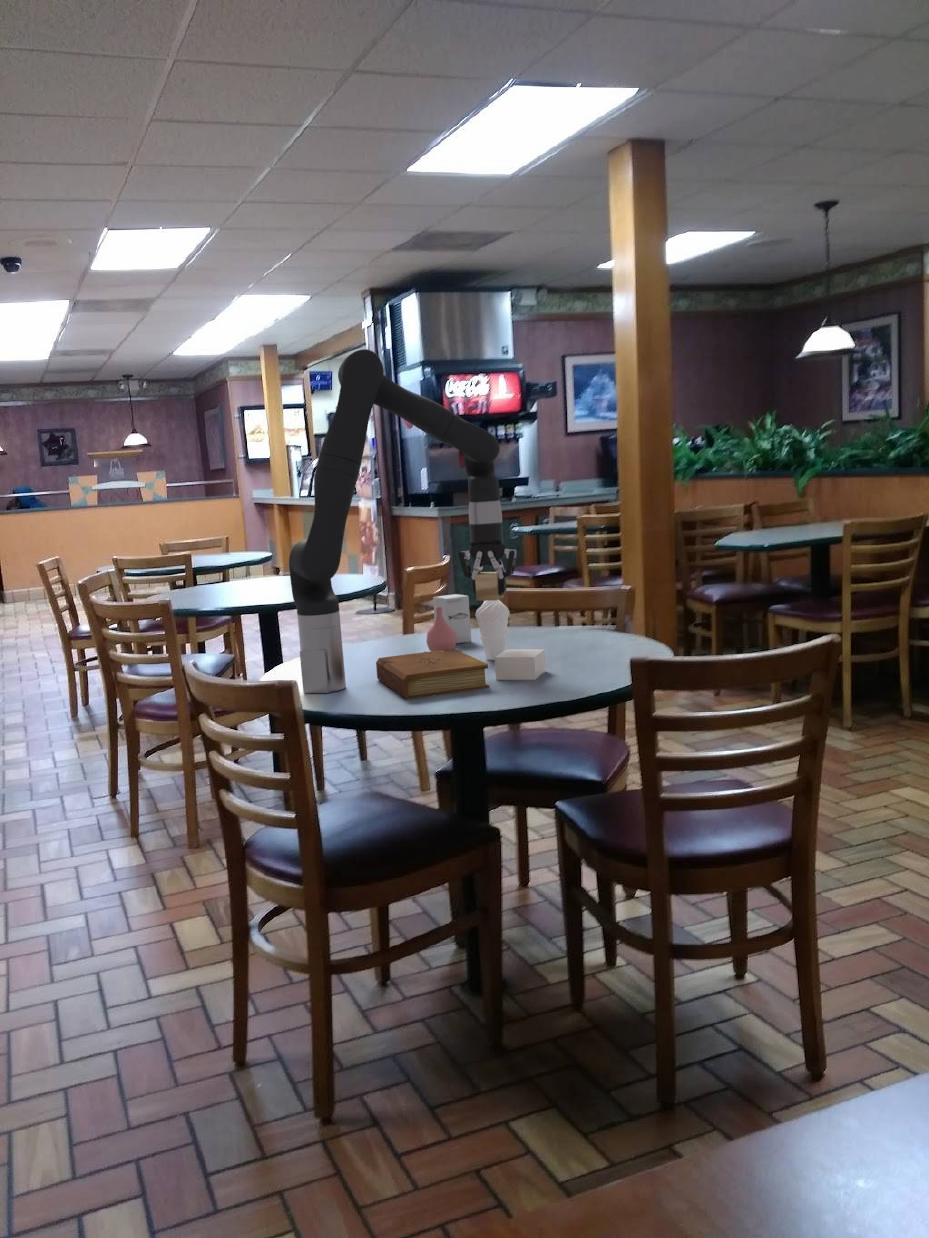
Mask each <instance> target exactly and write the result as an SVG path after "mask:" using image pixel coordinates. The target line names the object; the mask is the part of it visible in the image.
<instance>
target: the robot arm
mask: <svg viewBox="0 0 929 1238" xmlns="http://www.w3.org/2000/svg"><path fill="white" fill-rule="evenodd" d="M383 365H384V364H383V362H382V360H381V359H380V356H379V355H378V354H377V353H376V352H375V351H373V350H371V349H367V348H360V349H357V350H356V349H355V350H354V351H352V352H350V353H349V354H348V355H347V356H346V357H345V358H344V360H343V361H342V363H341V364H340V366H339V368H338V371H337V372H338V373H337V378H338V382H339V385H340V389H339V395H338V401H337V405H336V409H335V412H334V414H333V416H332V419H331V421H330V424H329V426H328V429H327V431H326V434H325V436H324V439H323V442H322V444H321V445H322V446H321V449H320V451H319V456H318V459H317V463H316V465H315V467H316V468H315V471H314V476H313V477H314V480H313V481H314V482H313V496H314V498H313V499H314V514H313V518H312V523H311V526H310V530H309V534H308V536H307V538H306V539H303V540H300V541H298V542H297V543H295V544H294V545H293V547H292V548H291V550H290V553H289V557H288V569H289V578H290V584H291V587H290V588H291V594H292V599H293V602H294V604H295V607H296V615H297V623H298V624H297V627H298V638H299V647H300V651H299V661H300V670H301V681H302V690H303V691H302V692H303V694H330V693H333V692H338V691H340V690H341V691H342V690H343V689H345V688H346V687H347V681H346V671H345V670H346V669H345V661H344V650H343V637H342V627H341V626H342V625H341V623H342V622H341V616H340V615H341V613H340V602H339V599H338V597H337V595H336V593H335V591H334V588H333V586H332V585H333V584H332V578H333V577H335V576H336V574H337V572H338V570H339V567H340V564H341V557H342V551H343V542H344V535H345V529H346V523H347V519H348V516H349V512H350V509H351V505H352V500H353V496H354V494H355V490H356V486H357V482H358V479H359V474H360V469H361V466H362V463H363V456H364V451H365V445H366V440H367V434H368V429H369V427H368V426H369V421H370V417H371V414H372V413H371V412H372V411H373V408H374V407H373V406H374V405H375V406H377V407H380V408H382V409H384V410H385V411H388V412H389V413H391V414H394V415H395V416H397V417H398V418H400V419H402V420H404V421H406V422H408V423H409V424H411V425H412V426H413V427H414V426H415V427H416V428H418V429H419V430H421V431H422V432H424V433H425V434H427V435H428V436H430V437H431V438H433V439H435V440H436V441H439V442H440V443H442V444H444V445H447V446H449V447H452V448H455V449H457V450H458V451H459V452H461V453H463V461H464V466H465V470H466V476H467V481H468V484H467V485H468V487H467V488H468V502H469V505H468V524H469V537H470V538H469V539H470V546H469V549H468V550H463V551H459V552H458V559H459V562H460V566H461V569H462V573H463V576H464V577H465V578H468V579H471V581H472V592H473V593H474V595H476V584H475V575H476V574H478V573H481V572H482V570H483V568H484V567H485V566H489V567H490V566H492V567H493V569H494V571H495V572H497V574H498V577H499V579H498V589H499V595H504V596H505V593H506V592H507V577H510V576H513V575H514V573H515V567H516V562H517V557H518V556H517V555H518V550H517V549H509V548H506V546H505V545H504V544H505V543H504V532H503V531H504V530H503V528H504V527H503V513H502V506H501V501H500V499H501V497H500V484H499V483H500V482H499V479H498V477H497V476H496V473H495V463H494V461H496V459H497V458H498V456H499V454H500V450H501V449H500V443H499V441H498V438H496V437H495V436H494V435H493V434H492V433H490V432H489V431H487V430H486V429H484V428H481V427H480V426H477V425H475V424H474V423H471V422H469V421H467V420H465V419H463V418H461V417H460V416H459V415H458V414H456V413H454V412H453V411H451V410H450V409H448V408H446V407H445V406H443V405H441V404H440V403H438V402H436V401H434V400H433V399H430V398H428V397H426V396H423V395H421V394H419V393H418V394H417V393H416V392H414V391H413V392H412V391H411V390H408V389H406V387H405V388H404V387H402V386H401V385H399V384H398V383H396V382H394V381H393V380H391V379H390V378H389V377H388V376H387V375H385V373H384V370H385V369H384V366H383ZM504 555H505V557H506V559H507V563H506V570H505V568H504V564H503V561H502V558H503V556H504ZM470 556H471V557H472V559H474V564H473V567H472V568H473V569H472V568H471V565H470V564H471V563H470V558H471V557H470Z"/></svg>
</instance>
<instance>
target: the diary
mask: <svg viewBox="0 0 929 1238" xmlns="http://www.w3.org/2000/svg"><path fill="white" fill-rule="evenodd" d="M375 665H376V677H377V678H376V679H377V680H378V681H379V682H381V683H382V684H384V685H385V684H386V685H385V686H387V687H389V688H390V689H391V690H393V691H394V692H396V693H397V694H398V695H400V697H403V699H405V698H406V700H413V699H419V698H420V697H421V698H427V697H428V698H429V697H434V696H433V695H435V696H441V694H442V695H449V694H455V693H460V692H461V693H463V692H469V691H477V690H483V689H489V688H490V685H489V684H487V683H486V682H487V681H486V670H487V669H488V670H489V664H488V663H487V662H484V661H482V660H481V659H477V658H475V657H473V656H471V655H469V654H467V653H465V652H463V651H460V650H458V649H456V648H455V649H454V648H453V649H446V650H438V651H430V650H429V651H424V652H416V653H407V654H400V655H391V656H384V657H379V658H378V659H377V660H376V662H375Z"/></svg>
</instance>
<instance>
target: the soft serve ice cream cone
mask: <svg viewBox="0 0 929 1238" xmlns="http://www.w3.org/2000/svg"><path fill="white" fill-rule="evenodd" d="M475 611H476V612H475V618H476V621H477V624H478V626H479V633H480V639H481V642H482V646H483V650H484V654H485V658H486V660H489V661H495V657H496V656H497V655H499V654H500V653H502V652H503V651H505V650H506V647H507V640H508V639H507V638H508V637H509V635H508V623H509V619H508V618H510V617H509V616H510V610H509V608H508V606H506V604H504V603H503V602H502V601H501V599H499V600H490V601H483V603H482V604H481V605H480V606H479V607H478V608H477V609H476V610H475Z"/></svg>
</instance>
